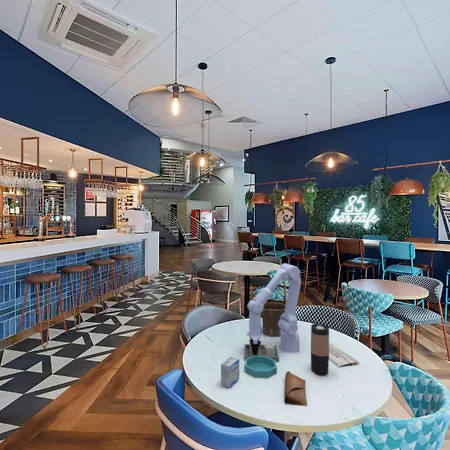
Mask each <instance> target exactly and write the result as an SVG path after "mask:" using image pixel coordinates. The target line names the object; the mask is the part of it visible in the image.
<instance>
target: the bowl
mask: <svg viewBox="0 0 450 450" xmlns="http://www.w3.org/2000/svg"><path fill="white" fill-rule="evenodd" d="M244 362H245V364H244V369H245V371H244V372H245V373H246V374H248V375H249V376H251V377H253V378H256V379H257V378H258V379H270V378H271V377H274V376H275V375H277V373H278V372H277V371H278V367H277V362H276V361H275V360H273V359H271V358H269V357H267V356H252V357H250V358H247V359H245V358H244Z"/></svg>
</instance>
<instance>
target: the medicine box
mask: <svg viewBox="0 0 450 450" xmlns="http://www.w3.org/2000/svg"><path fill="white" fill-rule="evenodd" d="M239 379H240V359H239V358H237V357H233V356H230V357H229V358H228V359H226V360H225V361H223V362H222V363H221V364H220V385H221V386H224V387H226V388H229V389H230V388H232V387H233V386H234V385H235V384H236V382H238V381H239Z"/></svg>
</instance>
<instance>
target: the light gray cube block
mask: <svg viewBox="0 0 450 450" xmlns="http://www.w3.org/2000/svg"><path fill="white" fill-rule="evenodd" d="M263 345H264V355H265V356H267V357H274V356H275V347H274V346H273V345H274V344H273V343H269V344H268V343H267V344H263Z"/></svg>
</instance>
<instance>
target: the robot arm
mask: <svg viewBox="0 0 450 450" xmlns="http://www.w3.org/2000/svg"><path fill="white" fill-rule="evenodd" d="M300 275H301V270H300V269H299V268H298V267H297V266H295V265H292V264H289V263H285V262H284V263H282V264H281V265H280V266H279V267H278V268H277V270H276V273H275V274H274V275H273V277H272V278H271V280H270V281H269V283H268V284H267V285H266V287H262V288H260V289H259V290H258V292H257V294H256V295H255V297H252V299H251V300H250V301H248V304H247V305H246V307H247V310H249V311H248V312H249V313H248V315H249V316H248V318H249V319H248V320H249V321H248V326H249V327H248V331H249V332H246V336H248V337H249V344H251V347H252V353H253V355H257V354H258V349H259V346H260V345H262V341H261V340H260V339H261V337H262V313H261V312H262V311H263V306H264V304H265V303H268V302H267V301H269V299H270V298H271V297H272V292H273V291H274V289H276V287H277V286H278V285H279V284H280V283H281V282H282V281H288V282H289V287H288V292H287V296H286V302H285V305H286V306H285V312H284V313H283V314H282V315H281V318H280V320H279V322H278V326H279V328H280V331H281V336H279V337H280V345H278V348H279V351H280V353H281V354H284V353H285V354H301V353H300V343H301V342H300V334H299V332H298V329H299V327H298V319H297V316H296V313H297V312H296V311H297V305H298V302H299V295H300V291H301V284H302V278H301V276H300Z"/></svg>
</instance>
